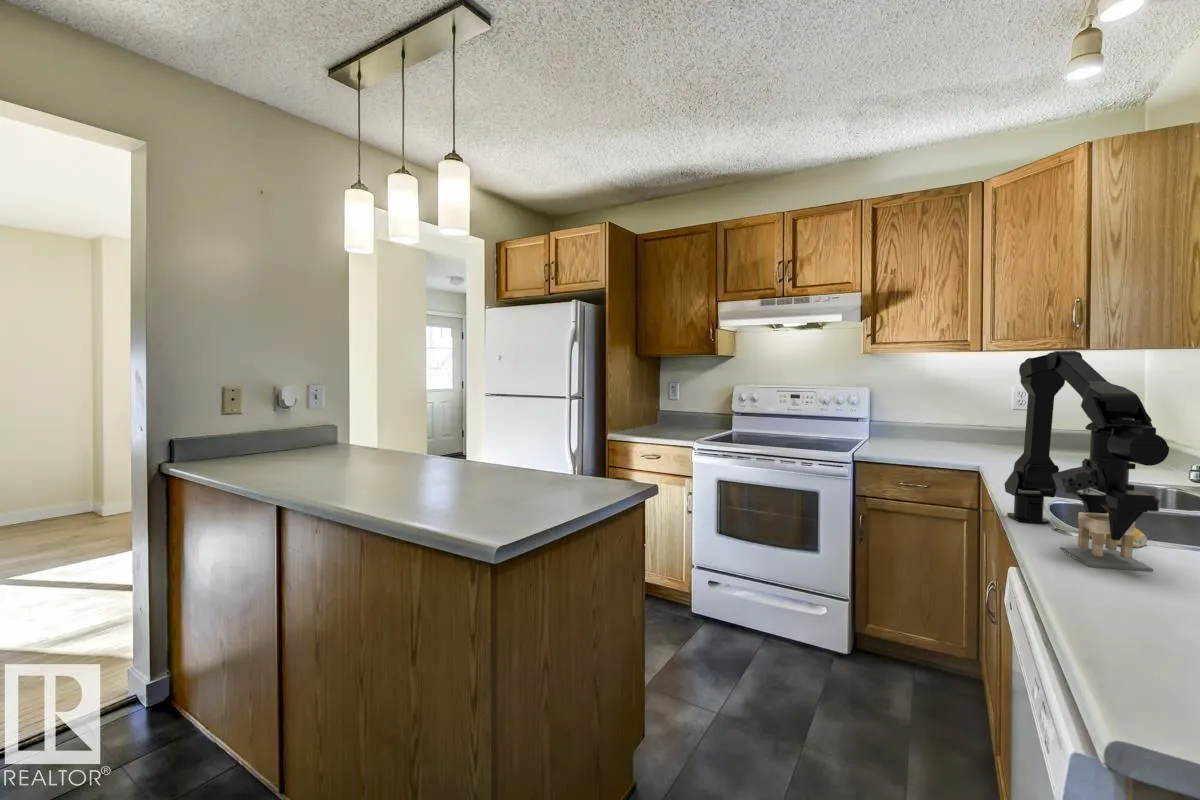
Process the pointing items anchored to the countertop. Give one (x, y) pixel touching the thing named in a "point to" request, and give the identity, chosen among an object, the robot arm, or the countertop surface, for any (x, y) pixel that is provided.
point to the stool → (1102, 534)
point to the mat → (1106, 559)
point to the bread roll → (1138, 538)
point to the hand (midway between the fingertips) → (1105, 534)
